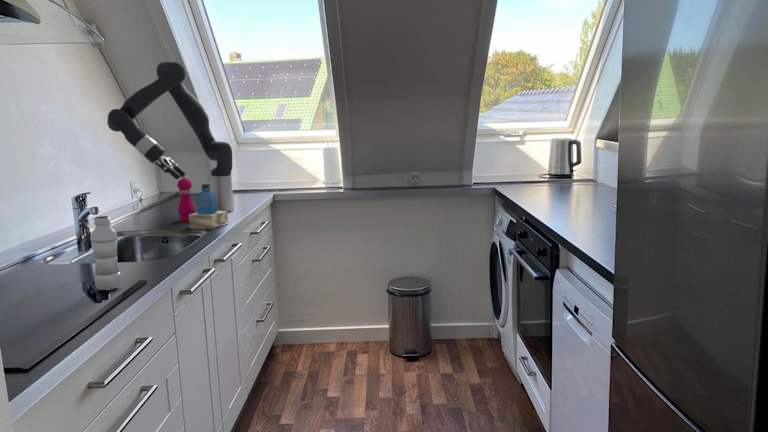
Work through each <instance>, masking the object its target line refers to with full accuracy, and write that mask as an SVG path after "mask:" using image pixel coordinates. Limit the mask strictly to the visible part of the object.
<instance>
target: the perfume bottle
mask: <svg viewBox="0 0 768 432" xmlns="http://www.w3.org/2000/svg"><path fill="white" fill-rule="evenodd" d="M210 186H211V185H210V183H202V184H201V192H199V194H198V196H197V198H196V209H197V210H196V211H197V212H198V214H214V213H216V212H217V198H216V196H215V194H214V193H213V192H212V191H210V190H211V187H210ZM197 212H196V213H197Z"/></svg>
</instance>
